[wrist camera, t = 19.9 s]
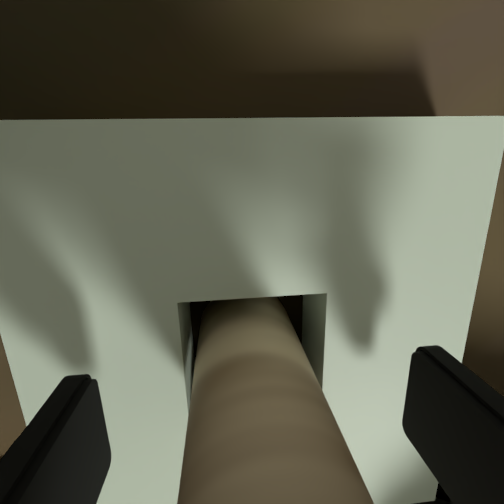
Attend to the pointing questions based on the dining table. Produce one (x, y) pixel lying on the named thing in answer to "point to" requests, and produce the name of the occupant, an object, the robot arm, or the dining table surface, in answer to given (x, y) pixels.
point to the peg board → (240, 266)
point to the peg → (261, 416)
